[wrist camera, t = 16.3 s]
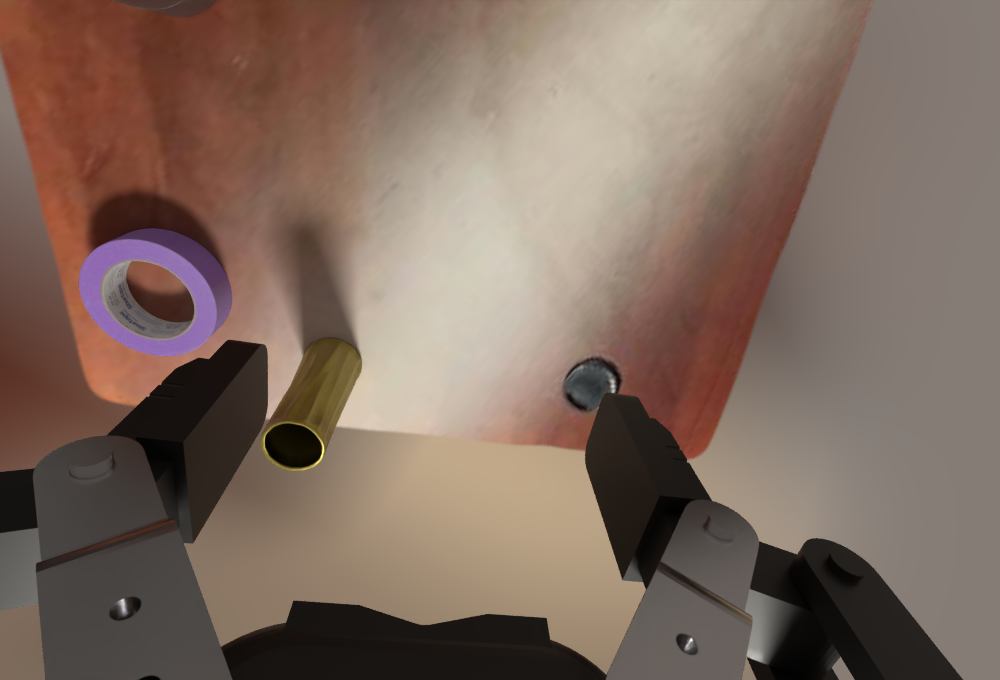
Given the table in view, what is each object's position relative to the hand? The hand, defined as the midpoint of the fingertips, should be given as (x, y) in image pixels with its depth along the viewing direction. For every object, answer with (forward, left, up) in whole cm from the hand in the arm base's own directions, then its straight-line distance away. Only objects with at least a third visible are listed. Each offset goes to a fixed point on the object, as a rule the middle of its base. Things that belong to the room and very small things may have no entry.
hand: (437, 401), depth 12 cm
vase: (-10, -22, -38) cm, 45 cm away
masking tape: (-26, -16, -39) cm, 49 cm away
